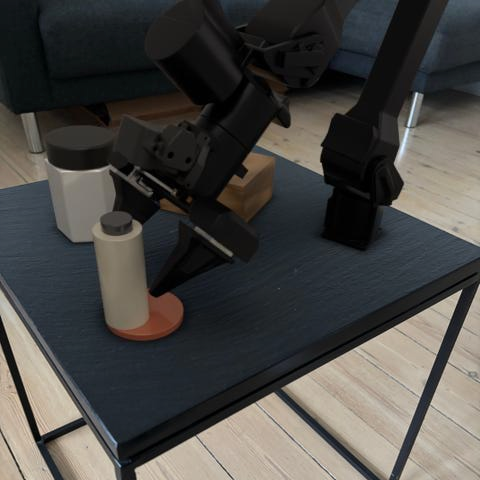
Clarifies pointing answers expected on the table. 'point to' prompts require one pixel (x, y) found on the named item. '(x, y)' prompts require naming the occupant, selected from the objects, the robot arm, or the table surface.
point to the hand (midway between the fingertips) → (127, 272)
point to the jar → (80, 178)
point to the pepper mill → (121, 270)
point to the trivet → (156, 319)
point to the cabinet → (243, 188)
